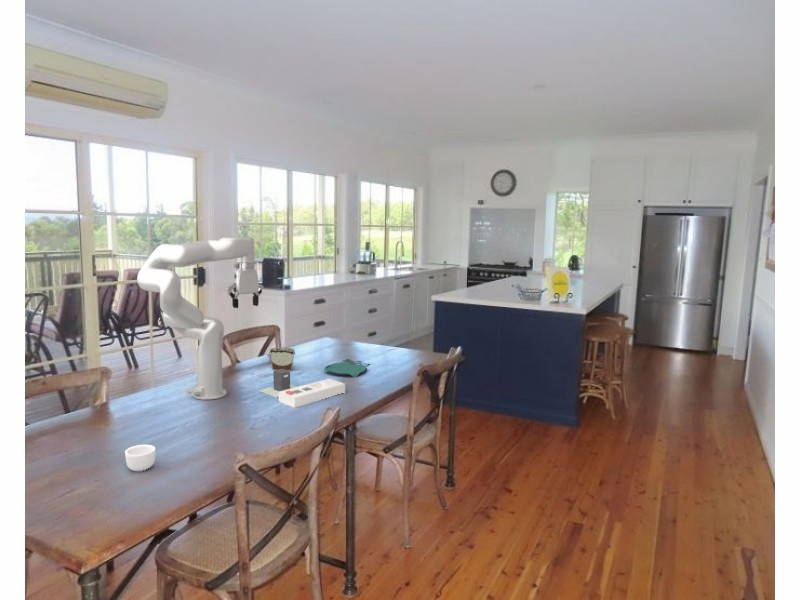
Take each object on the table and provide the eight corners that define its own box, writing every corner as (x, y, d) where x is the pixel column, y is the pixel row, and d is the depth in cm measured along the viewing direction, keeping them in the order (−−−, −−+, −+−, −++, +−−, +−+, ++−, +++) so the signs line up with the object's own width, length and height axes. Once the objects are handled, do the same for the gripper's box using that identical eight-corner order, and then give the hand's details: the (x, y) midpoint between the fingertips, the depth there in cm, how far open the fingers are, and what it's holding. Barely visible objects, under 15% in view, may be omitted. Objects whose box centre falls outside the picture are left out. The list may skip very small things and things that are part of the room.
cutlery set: (317, 375, 252) (317, 370, 252) (343, 360, 281) (343, 356, 280) (357, 380, 246) (357, 375, 246) (379, 365, 275) (379, 360, 274)
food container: (298, 367, 263) (298, 347, 261) (294, 371, 257) (294, 350, 255) (273, 366, 264) (273, 346, 262) (269, 369, 258) (269, 349, 256)
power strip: (294, 407, 207) (294, 395, 206) (278, 401, 214) (278, 389, 213) (345, 393, 227) (345, 381, 226) (329, 387, 233) (329, 376, 232)
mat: (276, 398, 218) (276, 396, 218) (259, 391, 226) (259, 390, 226) (304, 390, 228) (304, 389, 228) (286, 384, 236) (286, 383, 236)
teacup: (162, 465, 157) (161, 447, 156) (139, 476, 150) (138, 458, 149) (137, 458, 161) (136, 441, 160) (114, 468, 154) (113, 450, 153)
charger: (281, 392, 223) (281, 373, 222) (273, 389, 227) (273, 370, 226) (290, 390, 227) (290, 371, 225) (282, 387, 230) (282, 368, 229)
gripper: (231, 268, 221) (232, 309, 223) (267, 266, 234) (268, 305, 236) (221, 266, 226) (222, 307, 228) (257, 265, 239) (258, 303, 241)
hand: (245, 306), depth 232 cm, fingers open, 9 cm apart
